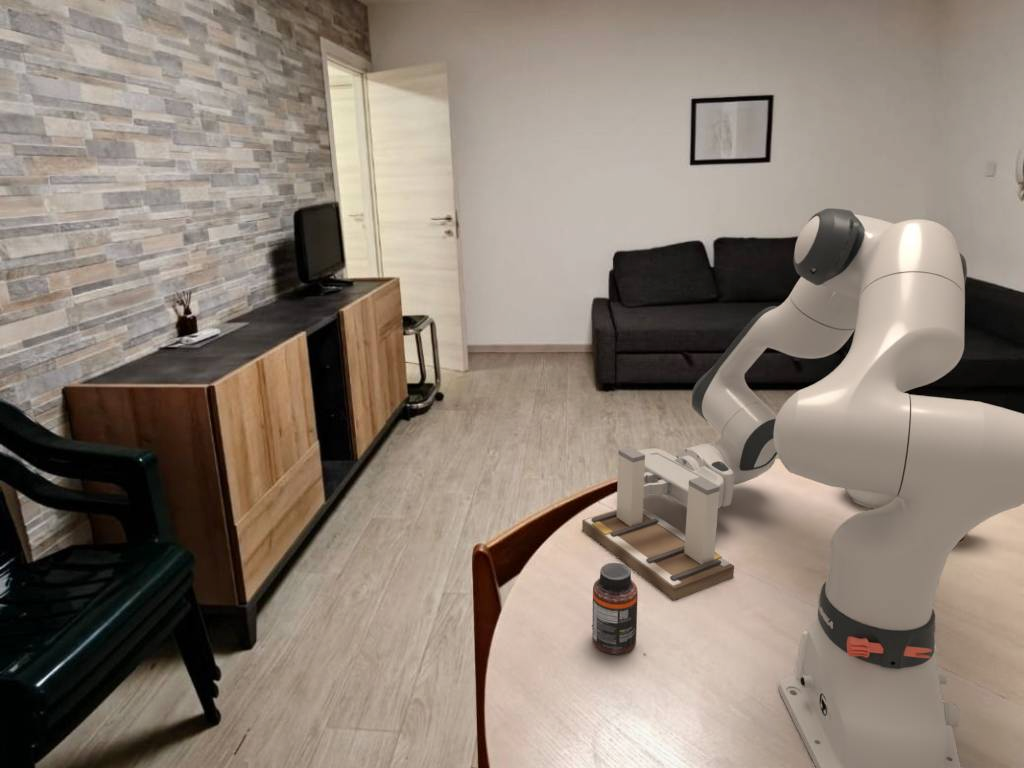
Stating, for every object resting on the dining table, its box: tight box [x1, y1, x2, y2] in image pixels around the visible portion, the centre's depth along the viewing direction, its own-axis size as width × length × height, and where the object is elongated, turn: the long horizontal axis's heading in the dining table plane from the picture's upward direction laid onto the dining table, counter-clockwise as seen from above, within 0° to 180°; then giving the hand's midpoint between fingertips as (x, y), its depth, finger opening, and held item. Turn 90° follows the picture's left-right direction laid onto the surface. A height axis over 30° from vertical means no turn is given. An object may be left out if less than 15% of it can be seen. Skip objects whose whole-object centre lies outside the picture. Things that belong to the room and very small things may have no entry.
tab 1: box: [616, 446, 645, 526], centre depth 125 cm, size 4×2×13 cm, turn 29°
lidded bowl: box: [843, 488, 897, 510], centre depth 135 cm, size 13×13×11 cm
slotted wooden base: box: [581, 506, 735, 601], centre depth 120 cm, size 24×12×3 cm, turn 29°
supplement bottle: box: [591, 562, 639, 655], centre depth 98 cm, size 6×6×11 cm
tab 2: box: [684, 477, 720, 565], centre depth 113 cm, size 4×2×13 cm, turn 29°
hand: (636, 488), depth 125 cm, fingers closed
